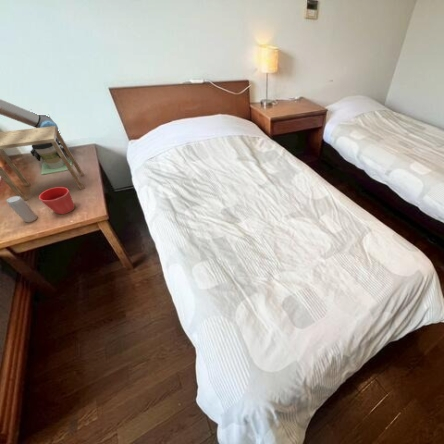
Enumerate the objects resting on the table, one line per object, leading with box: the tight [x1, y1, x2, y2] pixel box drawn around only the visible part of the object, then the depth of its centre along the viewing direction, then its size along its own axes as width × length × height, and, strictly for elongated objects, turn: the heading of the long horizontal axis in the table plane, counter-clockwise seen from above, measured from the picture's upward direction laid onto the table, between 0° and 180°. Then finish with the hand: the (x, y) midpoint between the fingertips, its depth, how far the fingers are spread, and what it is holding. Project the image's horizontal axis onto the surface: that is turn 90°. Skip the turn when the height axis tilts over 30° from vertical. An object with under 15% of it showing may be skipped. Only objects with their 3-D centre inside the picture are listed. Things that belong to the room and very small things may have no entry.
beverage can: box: [6, 195, 38, 223], centre depth 111 cm, size 5×5×12 cm
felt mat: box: [40, 158, 73, 176], centre depth 147 cm, size 14×14×1 cm
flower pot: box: [38, 186, 75, 215], centre depth 119 cm, size 11×11×10 cm
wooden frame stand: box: [0, 126, 85, 202], centre depth 124 cm, size 26×16×29 cm, turn 122°
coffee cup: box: [31, 143, 64, 169], centre depth 142 cm, size 10×10×15 cm
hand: (48, 157), depth 139 cm, fingers closed on coffee cup, 9 cm apart
